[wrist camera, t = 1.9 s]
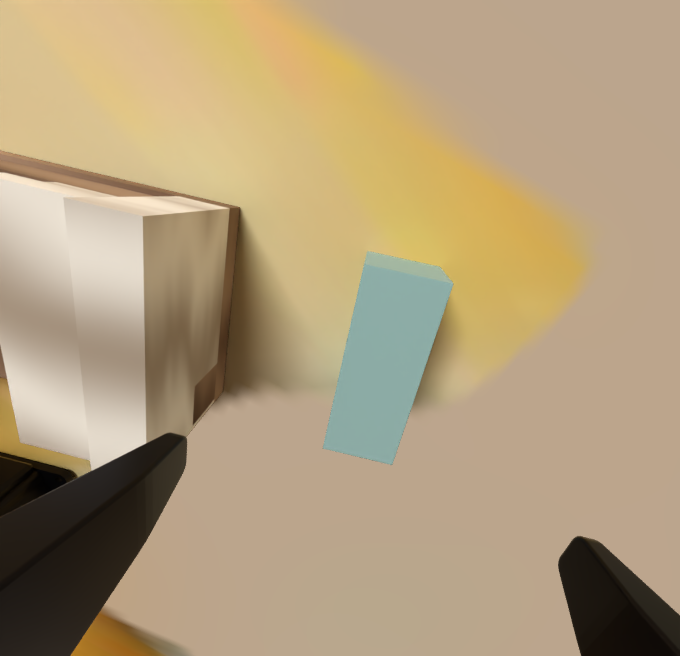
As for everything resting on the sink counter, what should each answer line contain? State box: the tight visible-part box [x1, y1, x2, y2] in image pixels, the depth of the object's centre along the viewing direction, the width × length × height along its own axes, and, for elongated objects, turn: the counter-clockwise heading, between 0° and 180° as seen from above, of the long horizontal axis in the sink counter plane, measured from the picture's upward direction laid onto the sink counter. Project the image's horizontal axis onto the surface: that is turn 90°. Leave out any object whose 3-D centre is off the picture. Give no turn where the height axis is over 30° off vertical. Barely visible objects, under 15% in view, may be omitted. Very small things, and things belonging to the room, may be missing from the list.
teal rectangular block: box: [323, 251, 453, 465], centre depth 14 cm, size 8×3×3 cm, turn 168°
